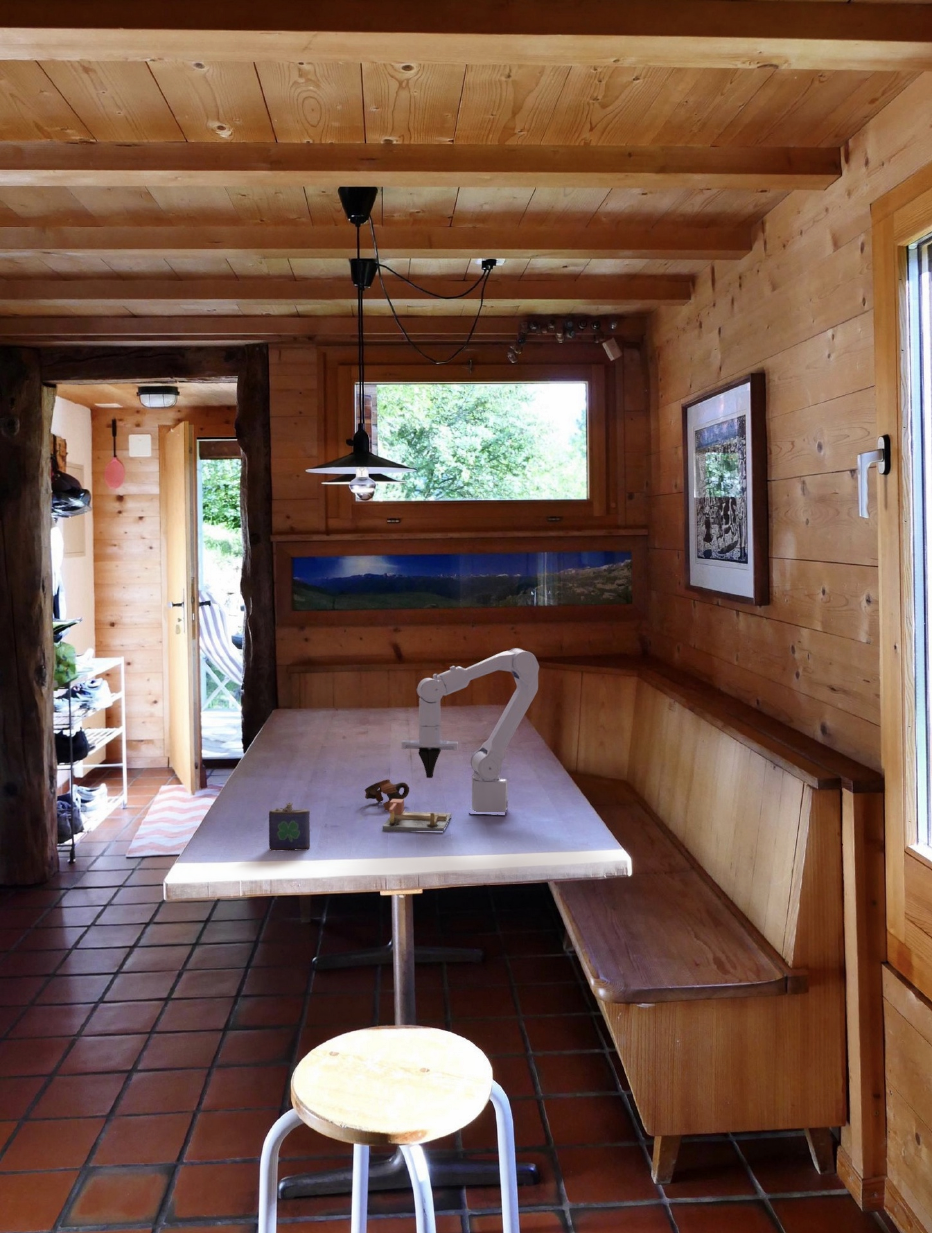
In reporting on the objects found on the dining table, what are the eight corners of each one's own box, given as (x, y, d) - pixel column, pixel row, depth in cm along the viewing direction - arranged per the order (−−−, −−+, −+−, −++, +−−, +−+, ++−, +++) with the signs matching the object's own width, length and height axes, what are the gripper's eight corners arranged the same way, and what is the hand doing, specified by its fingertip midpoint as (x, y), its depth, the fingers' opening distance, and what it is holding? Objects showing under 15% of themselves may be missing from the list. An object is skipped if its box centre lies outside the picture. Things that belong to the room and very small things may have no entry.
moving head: (404, 814, 240) (403, 799, 240) (396, 824, 231) (396, 808, 230) (392, 814, 240) (392, 798, 240) (384, 824, 231) (384, 808, 231)
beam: (446, 818, 238) (446, 806, 238) (442, 826, 230) (442, 814, 230) (392, 816, 240) (392, 804, 239) (385, 824, 232) (385, 812, 232)
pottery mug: (376, 815, 247) (365, 786, 249) (370, 822, 255) (358, 794, 258) (417, 798, 252) (406, 770, 254) (410, 806, 260) (398, 778, 262)
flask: (310, 846, 218) (309, 800, 217) (309, 850, 215) (308, 804, 215) (269, 847, 217) (269, 801, 217) (268, 851, 214) (267, 805, 214)
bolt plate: (451, 817, 243) (451, 812, 243) (443, 833, 229) (443, 827, 229) (394, 815, 245) (394, 810, 245) (382, 830, 231) (382, 825, 231)
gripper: (459, 723, 247) (459, 774, 248) (405, 721, 249) (405, 772, 250) (456, 727, 240) (455, 780, 241) (399, 726, 242) (399, 778, 243)
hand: (429, 777), depth 245 cm, fingers closed
